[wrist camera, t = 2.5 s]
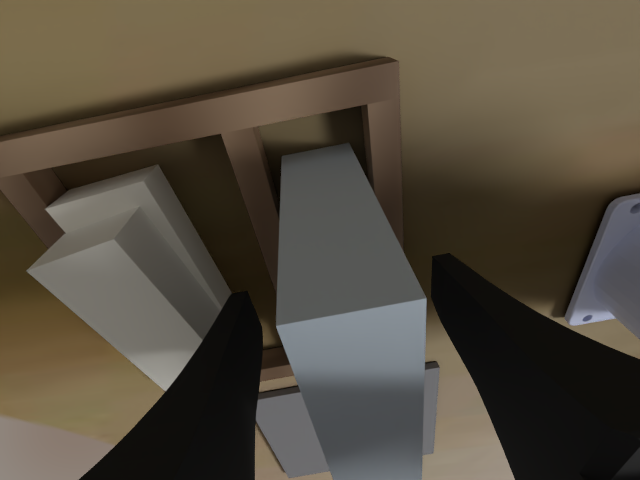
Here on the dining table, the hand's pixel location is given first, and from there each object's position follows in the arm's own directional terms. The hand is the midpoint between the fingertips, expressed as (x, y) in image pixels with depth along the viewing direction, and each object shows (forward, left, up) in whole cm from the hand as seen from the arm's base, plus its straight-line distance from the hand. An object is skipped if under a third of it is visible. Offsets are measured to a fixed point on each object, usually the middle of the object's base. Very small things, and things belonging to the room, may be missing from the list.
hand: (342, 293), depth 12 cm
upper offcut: (+7, 0, -2) cm, 7 cm away
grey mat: (+1, +16, -3) cm, 16 cm away
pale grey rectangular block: (0, 0, -3) cm, 3 cm away
